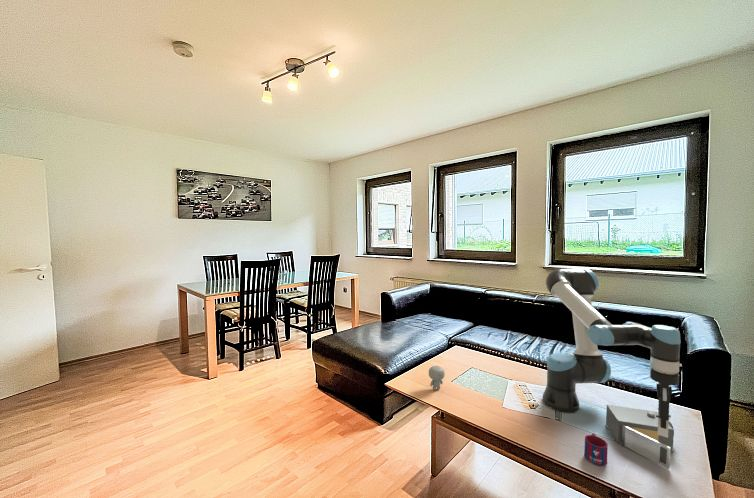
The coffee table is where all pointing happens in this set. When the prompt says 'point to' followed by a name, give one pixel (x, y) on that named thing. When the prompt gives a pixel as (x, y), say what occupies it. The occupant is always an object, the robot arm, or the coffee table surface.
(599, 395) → the coffee table surface
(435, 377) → the figurine
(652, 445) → the side door
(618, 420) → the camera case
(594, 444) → the mug
